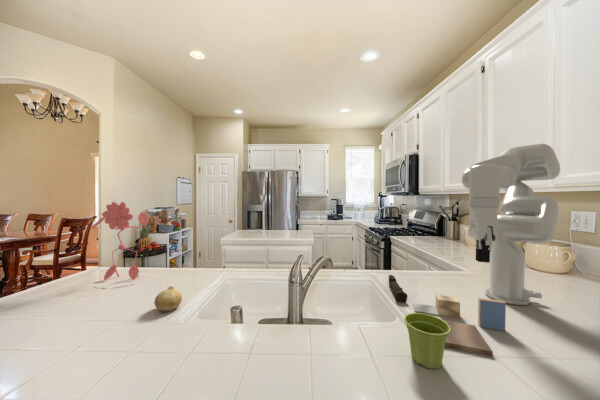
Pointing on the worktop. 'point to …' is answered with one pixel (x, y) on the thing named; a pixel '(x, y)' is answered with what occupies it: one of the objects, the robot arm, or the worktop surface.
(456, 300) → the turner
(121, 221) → the figurine
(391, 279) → the hand tool
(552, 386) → the worktop surface
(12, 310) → the worktop surface
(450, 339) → the board
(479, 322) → the tile
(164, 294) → the onion
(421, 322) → the plant pot
